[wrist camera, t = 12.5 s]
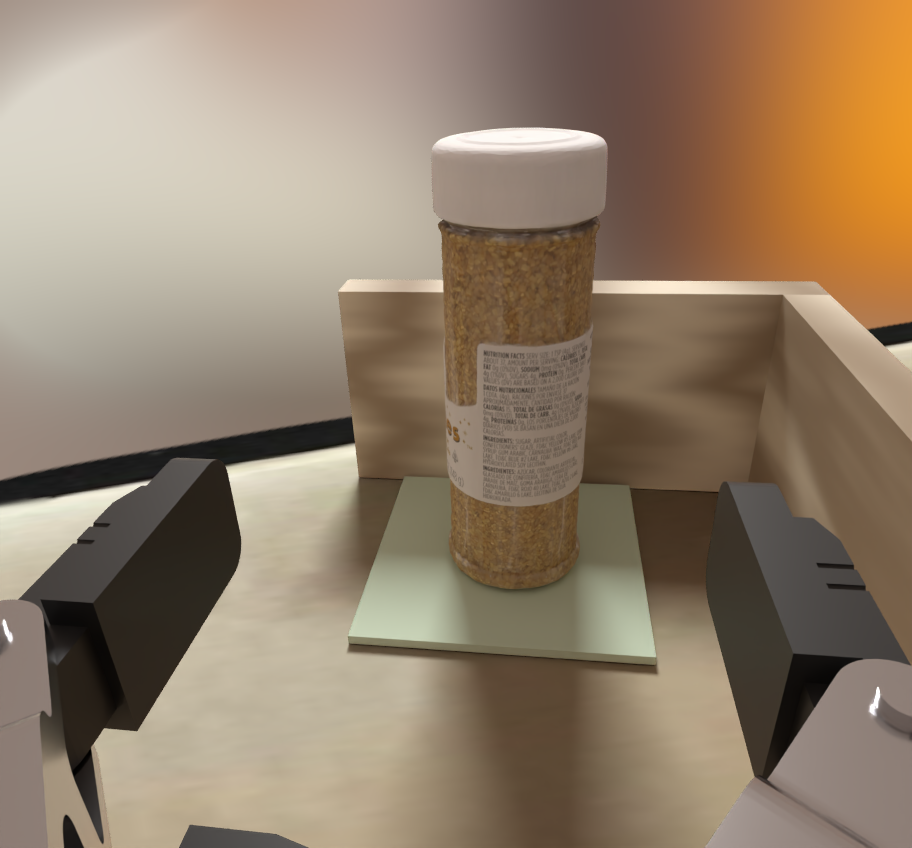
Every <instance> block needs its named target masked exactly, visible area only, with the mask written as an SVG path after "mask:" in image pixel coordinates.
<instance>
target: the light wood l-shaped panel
mask: <svg viewBox="0 0 912 848" xmlns="http://www.w3.org/2000/svg"><path fill="white" fill-rule="evenodd" d="M443 295H444V293H443V280H348V281H347V282H346V283H345V284H344V285H343V286H342V288H341V289H340V290H339V291H338V296H339V304H340V314H341V322H342V331H343V340H344V348H345V358H346V367H347V375H348V384H349V392H350V402H351V411H352V420H353V428H354V437H355V446H356V455H357V464H358V473H359V477H365V478H390V479H404V476H412V477H437V478H450V477H449V474H448V469H447V444H446V412H445V385H444V352H443V345H444V338H445V322H444V302H443ZM591 319H592V322H593V335H592V348H591V361H590V378H589V390H588V405H587V419H586V433H585V448H584V463H583V474H582V478H581V481H580V483H587V484H612V485H629V486H630V488H637V489H661V490H686V491H711V492H719V489H720V486H721V484H722V483H723V482H724V481H729V482H754V483H774V484H776V485H777V486H778V487H779V489H780V491H781V493H782V495H783V497H784V499H785V501H786V503H787V505H788V507H789V509H790V511H791V513H792V515H793V517H805V518H814V519H815V520H816V521H818V522H819V523H820V524H821V525H823V526H824V527H825V528H826V529H827V530H829V531H830V532H831V533H832V534H834V535H835V536H836V537H837V538H838V539H840V541H841V542H842V544H843V546H844V548H845V549H846V551H847V553H848V555H849V556H850V558H851V560H852V562H853V564H854V570H857V571H858V572H859V574H860V576H861V578H862V579H863V581H864V583H865V585H866V591H869V592H870V594H871V595H872V597H873V599H874V601H875V602H876V604H877V606H878V608H879V609H880V611H881V613H882V615H883V617H884V618H885V620H886V622H887V624H888V625H889V627H890V629H891V631H892V632H893V634H894V636H895V638H896V640H897V641H898V643H899V645H900V647H901V648H902V650H903V652H904V654H905V655H906V657H907V659H908V661H909V662H910V664H911V666H912V372H911V371H910V370H909V369H908V368H907V367H906V366H905V365H904V364H903V363H901V362H900V361H899V360H898V359H897V358H896V357H895V356H894V355H893V354H892V353H891V352H890V351H889V350H888V349H887V348H886V347H884V346H883V345H882V344H881V343H880V342H879V341H878V340H877V339H876V338H875V337H874V336H873V335H872V334H871V333H870V332H869V331H868V330H866V329H865V328H864V327H863V326H862V325H861V324H860V323H859V322H858V321H857V320H856V319H855V318H854V317H853V316H852V315H851V314H849V313H848V312H847V311H846V310H845V309H844V308H843V307H842V306H841V305H840V304H839V303H838V302H837V301H836V300H835V299H834V298H832V297H831V296H830V295H829V294H828V293H827V292H826V291H825V290H824V289H823V288H822V287H821V286H820V285H819V284H818V283H817V282H759V281H758V282H756V281H754V282H753V281H746V282H745V281H743V282H742V281H737V282H736V281H734V282H733V281H593V291H592V309H591Z"/></svg>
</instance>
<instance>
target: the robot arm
mask: <svg viewBox="0 0 912 848" xmlns="http://www.w3.org/2000/svg"><path fill="white" fill-rule="evenodd" d="M240 553H241V536H240V530H239V525H238V521H237V516H236V511H235V506H234V501H233V497H232V492H231V487H230V482H229V477H228V473H227V470H226V467H225V465H224V464H223V463H222V461H220V460H214V459H189V458H174V459H172V460H171V461H169V462H168V463H167V465H166V466H165V467H164V468H163V469H162V470H161V471H160V472H159V473H158V474H157V475H156V476H155V477H154V478H153V479H152V481H151V482H150V483H149V484H148V485H147V486H140V487H139V488H137V489H135V490H134V491H132V492H130V493H129V494H127V495H125V496H123V497H122V498H120V499H118V500H117V501H115V502H113V503H112V504H111V505H110V506H109V507H108V508H107V509H106V510H105V511H104V512H103V513H102V514H101V515H100V516H99V517H98V519H97V520H96V521H95V522H94V525H93V527H89V528H88V529H87V530H86V531H85V532H84V533H83V534H82V535H81V536H80V537H79V538H78V539H77V544H72V545H71V546H70V547H69V548H68V549H67V550H66V551H65V552H64V553H63V554H62V555H61V556H60V557H59V558H58V559H57V561H56V562H55V563H54V564H53V565H52V566H51V567H50V568H49V569H48V570H47V571H46V572H45V573H44V574H43V575H42V576H41V577H40V578H39V579H38V580H37V581H36V582H35V583H34V584H33V585H32V586H31V587H30V588H29V589H28V590H27V591H26V592H25V593H24V594H23V595H22V596H21V597H20V598H19V599H18V600H2V601H0V848H112V844H111V837H110V831H109V824H108V817H107V811H106V804H105V797H104V791H103V784H102V778H101V771H100V764H99V758H98V755H97V752H96V749H95V746H94V742H95V741H96V739H97V738H98V736H99V735H100V733H101V732H102V730H103V729H104V728H108V729H119V730H130V731H138V729H139V727H140V726H141V724H142V722H143V721H144V719H145V718H146V716H147V714H148V713H149V711H150V709H151V708H152V706H153V705H154V703H155V701H156V700H157V698H158V696H159V695H160V693H161V692H162V690H163V688H164V687H165V685H166V684H167V682H168V680H169V679H170V677H171V675H172V674H173V672H174V671H175V669H176V667H177V666H178V664H179V662H180V661H181V659H182V658H183V656H184V654H185V653H186V651H187V649H188V648H189V646H190V645H191V643H192V641H193V640H194V638H195V636H196V635H197V633H198V632H199V630H200V628H201V627H202V625H203V623H204V622H205V620H206V619H207V617H208V615H209V614H210V612H211V610H212V609H213V607H214V606H215V604H216V602H217V601H218V599H219V598H220V596H221V594H222V593H223V591H224V589H225V588H226V586H227V585H228V583H229V581H230V580H231V578H232V576H233V575H234V573H235V571H236V569H237V566H238V563H239V559H240ZM706 589H707V598H708V603H709V607H710V611H711V615H712V618H713V622H714V626H715V630H716V633H717V637H718V641H719V645H720V648H721V652H722V656H723V660H724V663H725V667H726V671H727V675H728V679H729V682H730V686H731V690H732V694H733V697H734V701H735V705H736V709H737V712H738V716H739V720H740V724H741V727H742V731H743V735H744V739H745V742H746V746H747V750H748V754H749V757H750V761H751V765H752V769H753V773H754V776H755V777H754V778H753V779H752V780H751V781H750V783H749V784H748V785H747V786H746V788H745V789H744V790H743V792H742V793H741V795H740V796H739V798H738V799H737V801H736V802H735V804H734V805H733V807H732V808H731V810H730V811H729V812H728V814H727V815H726V817H725V818H724V820H723V821H722V823H721V824H720V826H719V827H718V829H717V830H716V832H715V833H714V835H713V836H712V838H711V839H710V840H709V842H708V843H707V845H706V846H705V848H912V666H911V664H910V662H909V661H908V659H907V657H906V655H905V654H904V652H903V650H902V648H901V647H900V645H899V643H898V641H897V640H896V638H895V636H894V634H893V632H892V631H891V629H890V627H889V625H888V624H887V622H886V620H885V618H884V617H883V615H882V613H881V611H880V609H879V608H878V606H877V604H876V602H875V601H874V599H873V597H872V595H871V594H870V592H869V591H866V585H865V583H864V581H863V579H862V578H861V576H860V574H859V572H858V571H857V570H854V564H853V562H852V560H851V558H850V556H849V555H848V553H847V551H846V549H845V548H844V546H843V544H842V542H841V541H840V539H838V538H837V537H836V536H835V535H834V534H832V533H831V532H830V531H829V530H827V529H826V528H825V527H824V526H823V525H821V524H820V523H819V522H818V521H816V520H815V519H814V518H805V517H793V515H792V513H791V511H790V509H789V507H788V505H787V503H786V501H785V499H784V497H783V495H782V493H781V491H780V489H779V487H778V486H777V485H776V484H774V483H754V482H729V481H724V482H723V483H722V484H721V486H720V489H719V493H718V499H717V505H716V511H715V517H714V523H713V529H712V535H711V541H710V547H709V553H708V559H707V568H706ZM179 848H308V847H306V846H303V845H301V844H298V843H296V842H294V841H291V840H289V839H286V838H284V837H282V836H279V835H277V834H270V833H261V832H252V831H242V830H233V829H224V828H215V827H205V826H196V825H190V826H189V828H188V830H187V832H186V834H185V836H184V838H183V840H182V843H181V845H180V847H179Z"/></svg>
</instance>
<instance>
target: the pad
mask: <svg viewBox="0 0 912 848" xmlns="http://www.w3.org/2000/svg"><path fill="white" fill-rule="evenodd" d="M451 513H452V510H451V496H450V478H437V477H412V476H404V479H403V482H402V485H401V487H400V490H399V493H398V496H397V499H396V501H395V504H394V507H393V510H392V513H391V516H390V518H389V521H388V524H387V527H386V530H385V532H384V535H383V538H382V541H381V544H380V547H379V549H378V552H377V555H376V558H375V561H374V563H373V566H372V569H371V572H370V575H369V577H368V580H367V583H366V586H365V589H364V592H363V594H362V597H361V600H360V603H359V606H358V608H357V611H356V614H355V617H354V620H353V623H352V625H351V628H350V631H349V634H348V641H349V643H351V644H365V645H379V646H393V647H407V648H421V649H436V650H450V651H464V652H478V653H492V654H506V655H520V656H534V657H549V658H563V659H577V660H591V661H605V662H619V663H633V664H648V665H655V664H656V652H655V646H654V639H653V633H652V626H651V620H650V614H649V607H648V601H647V595H646V588H645V582H644V576H643V569H642V563H641V556H640V550H639V544H638V537H637V531H636V525H635V518H634V512H633V506H632V499H631V493H630V486H629V485H612V484H587V483H580V484H579V498H578V515H577V534H578V537H579V542H580V551H579V556H578V558H577V560H576V563H575V565H574V566H573V567H572V568H571V569H570V570H569V572H568V573H567V574H565V575H564V576H563V577H562V578H560V579H559V580H558V581H555V582H552V583H550V584H547V585H544V586H540V587H534V588H521V589H505V588H499V587H494V586H489V585H486V584H483V583H480V582H478V581H476V580H474V579H472V578H471V577H469V576H468V575H467V574H466V573H464V572H462V571H461V570H460V569H459V568H458V566H457V564H456V562H455V561H454V560H453V557H452V555H451V554H450V549H449V534H450V531H451V528H452V527H451Z"/></svg>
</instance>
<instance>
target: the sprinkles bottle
mask: <svg viewBox="0 0 912 848" xmlns="http://www.w3.org/2000/svg"><path fill="white" fill-rule="evenodd" d="M431 159H432V192H433V208H434V212H435V213H436V214H437V216H438V217H439V218H441V219H443V220H442V221H441V222H440V223H439V224H438V227H439V229H440V231H441V234H442V260H443V267H442V270H443V293H444V295H443V302H444V322H445V338H444V345H443V352H444V385H445V412H446V444H447V469H448V474H449V477H450V496H451V510H452V513H451V527H452V528H451V531H450V534H449V549H450V554H451V555H452V557H453V560H454V561H455V562H456V564H457V566H458V568H459V569H460V570H461V571H462V572H464V573H466V574H467V575H468V576H469V577H471V578H472V579H474V580H476V581H478V582H480V583H483V584H486V585H489V586H494V587H499V588H505V589H521V588H534V587H540V586H544V585H547V584H550V583H552V582H555V581H558V580H559V579H560V578H562V577H563V576H564V575H565V574H567V573H568V572H569V570H570V569H571V568H572V567H573V566H574V565H575V563H576V560H577V558H578V556H579V551H580V542H579V537H578V534H577V515H578V498H579V484H580V481H581V478H582V474H583V463H584V448H585V433H586V419H587V405H588V390H589V378H590V361H591V348H592V335H593V322H592V319H591V309H592V291H593V276H594V271H593V268H594V260H595V250H596V243H595V238H596V233H597V231H598V229H599V227H600V221H599V220H598V218H597V215H599V214H600V213H601V212H602V211H603V210H604V207H605V197H606V181H607V144H606V142H605V141H604V139H603V138H601V137H600V136H597V135H595V134H592V133H588V132H583V131H576V130H564V129H553V128H505V129H491V130H483V131H475V132H469V133H462V134H456V135H452V136H448V137H446V138H443V139H441V140H439V141H438V142H437V143H435V145H434V146H433V149H432V156H431Z"/></svg>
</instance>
